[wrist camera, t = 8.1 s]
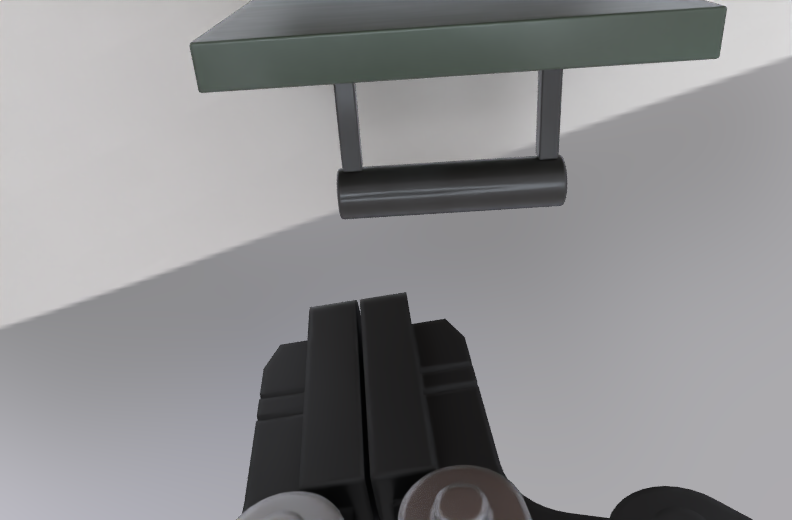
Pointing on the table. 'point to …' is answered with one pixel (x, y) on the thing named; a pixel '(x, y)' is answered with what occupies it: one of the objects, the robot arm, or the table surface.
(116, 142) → the table surface
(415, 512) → the robot arm
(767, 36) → the table surface
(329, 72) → the drawer
